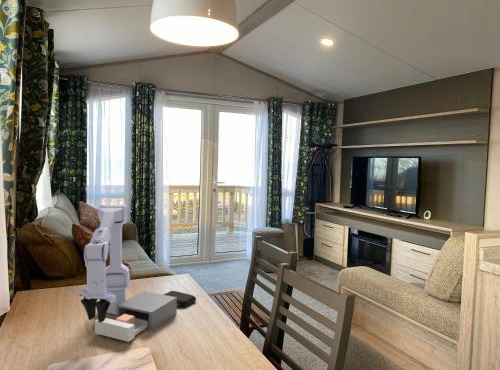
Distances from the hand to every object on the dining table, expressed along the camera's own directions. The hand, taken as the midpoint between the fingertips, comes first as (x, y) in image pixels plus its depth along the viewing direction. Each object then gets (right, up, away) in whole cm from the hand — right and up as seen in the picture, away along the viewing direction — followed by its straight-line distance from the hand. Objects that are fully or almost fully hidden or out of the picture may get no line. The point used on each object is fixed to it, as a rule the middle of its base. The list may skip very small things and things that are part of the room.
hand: (96, 320), depth 124 cm
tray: (+6, -7, +10) cm, 14 cm away
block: (+6, -7, +10) cm, 14 cm away
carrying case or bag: (+19, -7, +39) cm, 44 cm away
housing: (+11, -7, +22) cm, 25 cm away
